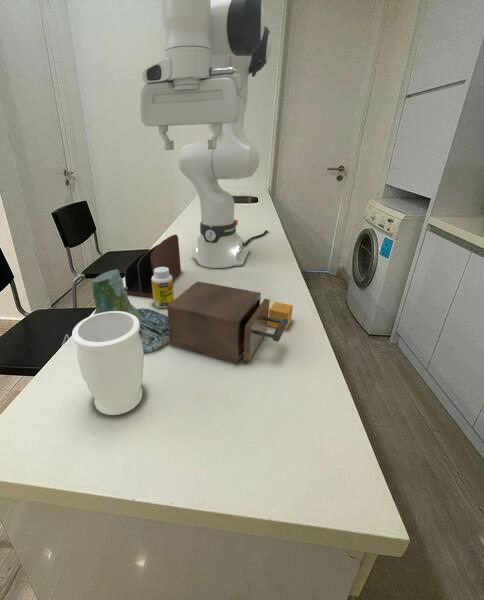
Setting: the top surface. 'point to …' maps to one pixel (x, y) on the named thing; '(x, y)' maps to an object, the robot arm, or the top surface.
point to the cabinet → (210, 319)
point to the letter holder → (152, 266)
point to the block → (280, 313)
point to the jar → (111, 360)
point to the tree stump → (130, 310)
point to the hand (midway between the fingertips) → (190, 149)
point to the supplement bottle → (162, 287)
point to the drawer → (258, 328)
